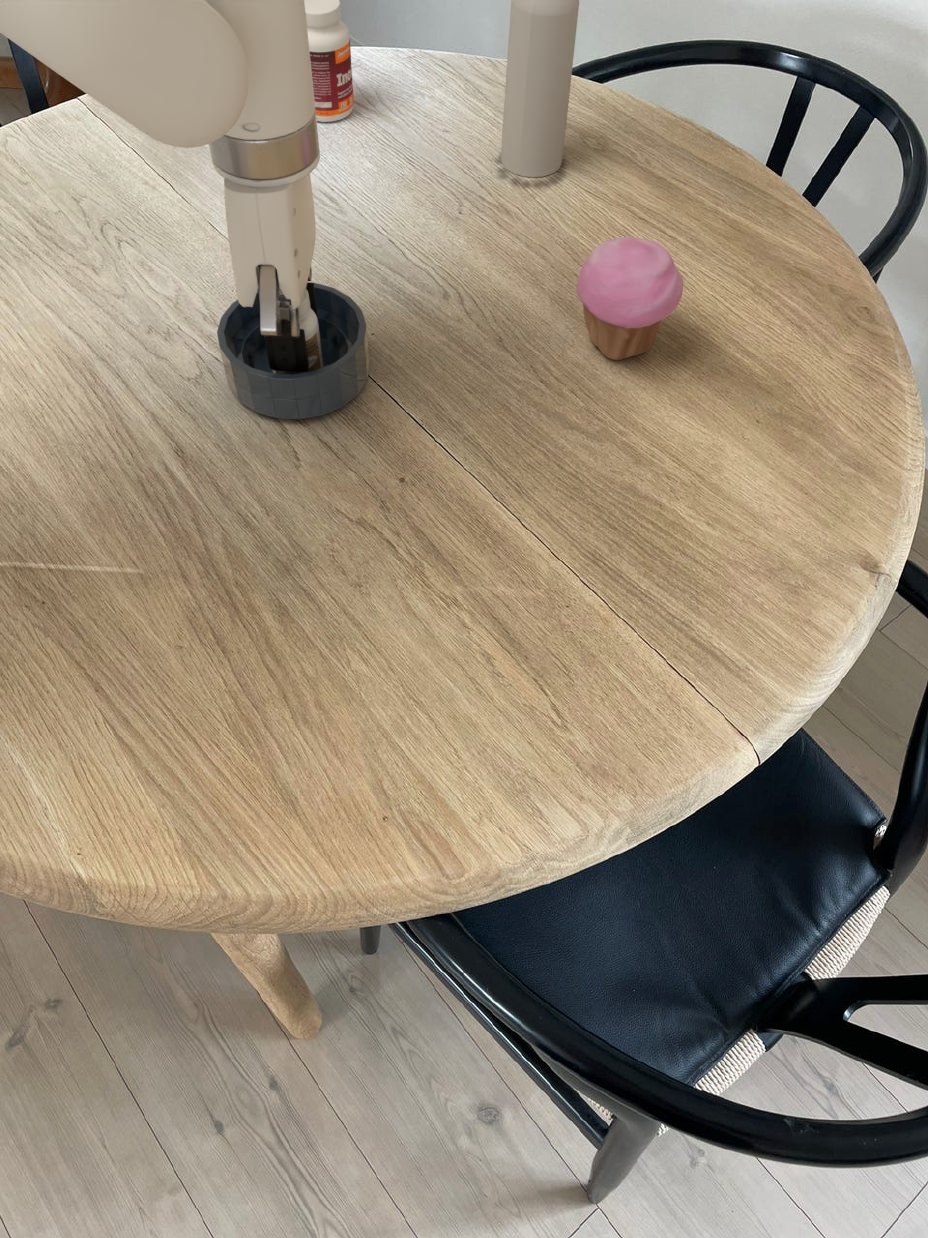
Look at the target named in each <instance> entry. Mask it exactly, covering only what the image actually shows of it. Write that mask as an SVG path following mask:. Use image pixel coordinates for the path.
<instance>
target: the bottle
mask: <svg viewBox="0 0 928 1238" xmlns="http://www.w3.org/2000/svg"><path fill="white" fill-rule="evenodd" d="M510 1H511V2H510V15H509V16H510V17H509V29H508V45H507V58H506V73H505V74H506V75H505V87H504V100H503V102H504V103H503V115H502V131H501V148H500V149H501V151H500V162H501V165H502V166H503V167H504V168H505V169H506V170H507V171H509V172H511V173H512V174H515V175H518V176H520V177H524V178H526V177H529V178H543V177H547V176H551V175H552V174H554V173H556V172H557V171H559V169H560V168H561V166H562V163H563V156H564V155H563V154H564V147H565V138H566V131H567V121H568V113H569V103H570V94H571V83H572V74H573V65H574V55H575V47H576V46H575V45H576V37H577V26H578V17H579V8H580V0H510Z"/></svg>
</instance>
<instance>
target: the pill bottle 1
mask: <svg viewBox="0 0 928 1238" xmlns="http://www.w3.org/2000/svg"><path fill="white" fill-rule="evenodd" d="M279 295H284V294H283V293H282V291H279ZM298 310H299V324H300V329H304V332H305V340H306V347H307V354H308V361H309V367H308V371H306V372H311V371H316V370H318V369H321V368H323V359H322V351H321V343H320V334H319V325H318V319H317V316H316V314H315V313H314V311H313V310H312V309H311V308H310V300H309V294H308V291H307V289H306V290H305V294H304V298H303V301H302V304H301V305H300V306H299V307H298ZM279 314H280V319H287V320H289V321H290V317H289V308H279ZM272 371H273V373H274V374H299V373H305V372H295V371H276V370H272Z"/></svg>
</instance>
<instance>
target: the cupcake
mask: <svg viewBox="0 0 928 1238" xmlns="http://www.w3.org/2000/svg"><path fill="white" fill-rule="evenodd" d="M576 281H577V282H576V293H577V296H578V299H579V301H580V302H581V304H582V310H583V312H582V313H583V317H584V318H583V319H584V322H585V326H586V329H587V331H588V337H589V341H590V343H591V344H593V345H595V346H596V347H597V348H598V349H599V351H600V352H601V354H603V355H604V356H605V357H606V358H607V359H609V360H613V361H614V360H615V361H619V360H623V359H627V358H631V357H633V356H639V355H642V354H643V353H646V352H648V351H651V349H652V348H653V347H654V345H655V342H656V338H657V335H658V332H659V330H660V327H661V325H662V322H663V320H664V319H665V318H667V317H668V316H669V315H671V314H672V313H673V312H674V311H675V310H676V309H677V308H678V306H679V304H680V302H681V299H682V297H683V291H684V290H683V289H684V279H683V276H682V274H681V272H680V270H679V269H678V268H677V266H676V264H675V262H674V259H673V257H672V255H671V253H670V252H669V251H668V250H667V249H666V248H665V247H664V246H663V245H661V244H660V243H659V242H656V241H654V240H650V239H646V238H641V237H633V236H620V237H616V238H613V239H608V240H605V241H603V242H601V243H600V244H598V245H597V246H596V247H595V248H594V249H593V250H592V251H591V252H590V254H589V256H588V257H587V258H586V260H585V261H584V263H583V264H582V266H581V268H580V270H579V273H578V276H577V280H576Z"/></svg>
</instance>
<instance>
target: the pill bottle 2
mask: <svg viewBox="0 0 928 1238" xmlns="http://www.w3.org/2000/svg"><path fill="white" fill-rule="evenodd" d="M304 2H305V12H306V22H307V32H308V42H309V51H310V61H311V71H312V81H313V90H314V100H315V110H316V120H317V122H321V123H329V122H331V123H332V122H336V121H340V120H343V119H345V118H347V117H348V116H350V115H351V113H352V112H353V110H354V106H355V105H354V104H355V102H354V101H355V100H354V99H355V98H354V84H353V83H354V82H353V69H352V68H353V67H352V52H351V37H350V31H349V28H348V26H347V24H346V23H345V22H344V21H343V20H341V19H342V9H341V8H342V7H341V1H340V0H304Z"/></svg>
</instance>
